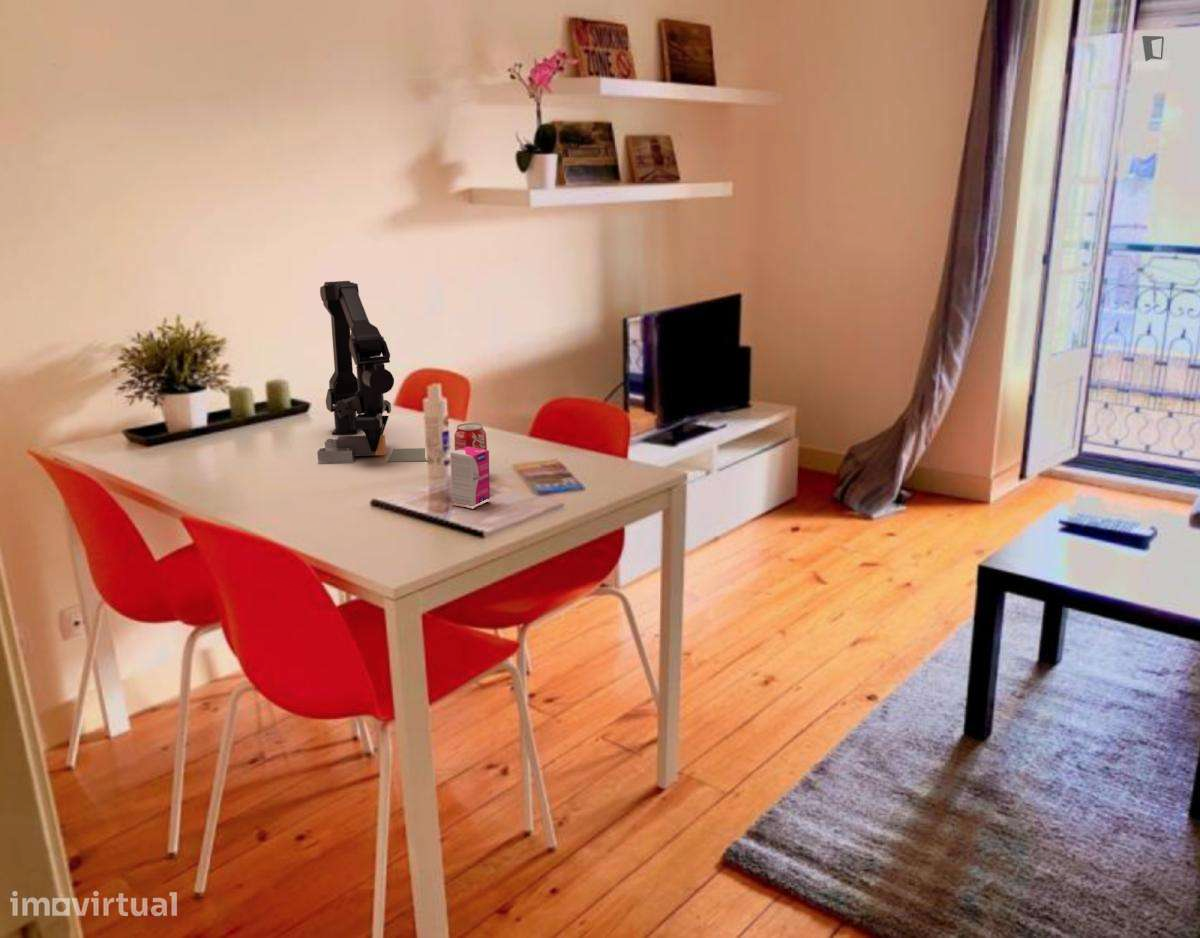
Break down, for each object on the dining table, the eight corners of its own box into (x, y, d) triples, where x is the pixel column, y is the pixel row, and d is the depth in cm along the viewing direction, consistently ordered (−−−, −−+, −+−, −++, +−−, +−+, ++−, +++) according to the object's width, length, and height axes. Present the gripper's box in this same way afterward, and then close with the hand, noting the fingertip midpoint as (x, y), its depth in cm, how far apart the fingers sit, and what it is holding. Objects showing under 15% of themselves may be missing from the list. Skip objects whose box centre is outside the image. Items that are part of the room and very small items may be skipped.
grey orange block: (340, 452, 234) (338, 436, 233) (386, 450, 235) (384, 434, 234) (337, 456, 231) (336, 440, 229) (384, 455, 231) (382, 438, 230)
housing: (327, 451, 238) (326, 438, 237) (360, 450, 238) (359, 437, 237) (318, 463, 227) (317, 450, 226) (352, 462, 228) (351, 449, 227)
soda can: (491, 473, 219) (488, 422, 215) (484, 483, 212) (482, 430, 209) (460, 472, 220) (457, 421, 216) (453, 482, 213) (450, 429, 209)
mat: (393, 449, 239) (393, 448, 238) (438, 448, 239) (438, 447, 239) (386, 462, 228) (386, 461, 228) (433, 461, 229) (433, 460, 229)
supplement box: (473, 510, 195) (471, 456, 192) (451, 505, 198) (448, 451, 195) (491, 502, 200) (489, 449, 196) (469, 497, 203) (466, 445, 199)
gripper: (343, 378, 236) (348, 439, 241) (327, 395, 219) (333, 460, 223) (389, 377, 237) (393, 438, 242) (377, 394, 219) (382, 459, 224)
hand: (375, 449), depth 233 cm, fingers closed on grey orange block, 4 cm apart
